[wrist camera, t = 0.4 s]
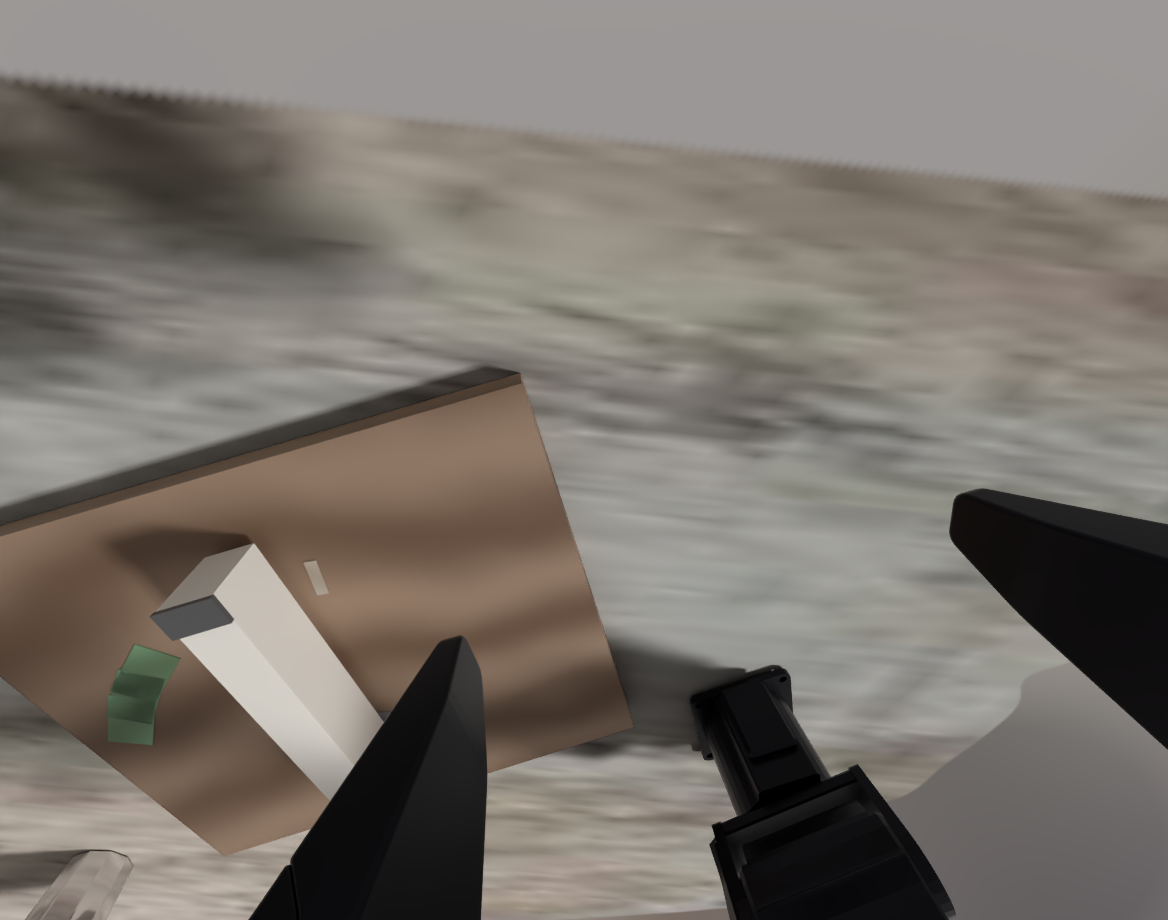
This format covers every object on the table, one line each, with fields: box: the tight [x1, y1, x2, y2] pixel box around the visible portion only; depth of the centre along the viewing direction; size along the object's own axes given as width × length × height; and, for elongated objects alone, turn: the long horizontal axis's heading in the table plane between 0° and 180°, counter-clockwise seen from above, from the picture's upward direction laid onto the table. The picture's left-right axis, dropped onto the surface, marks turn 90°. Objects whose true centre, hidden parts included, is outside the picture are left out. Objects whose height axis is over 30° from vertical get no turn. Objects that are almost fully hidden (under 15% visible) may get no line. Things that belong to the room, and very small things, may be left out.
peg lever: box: [150, 543, 384, 801], centre depth 21 cm, size 16×4×3 cm, turn 14°
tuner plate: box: [0, 373, 634, 856], centre depth 23 cm, size 22×25×2 cm
